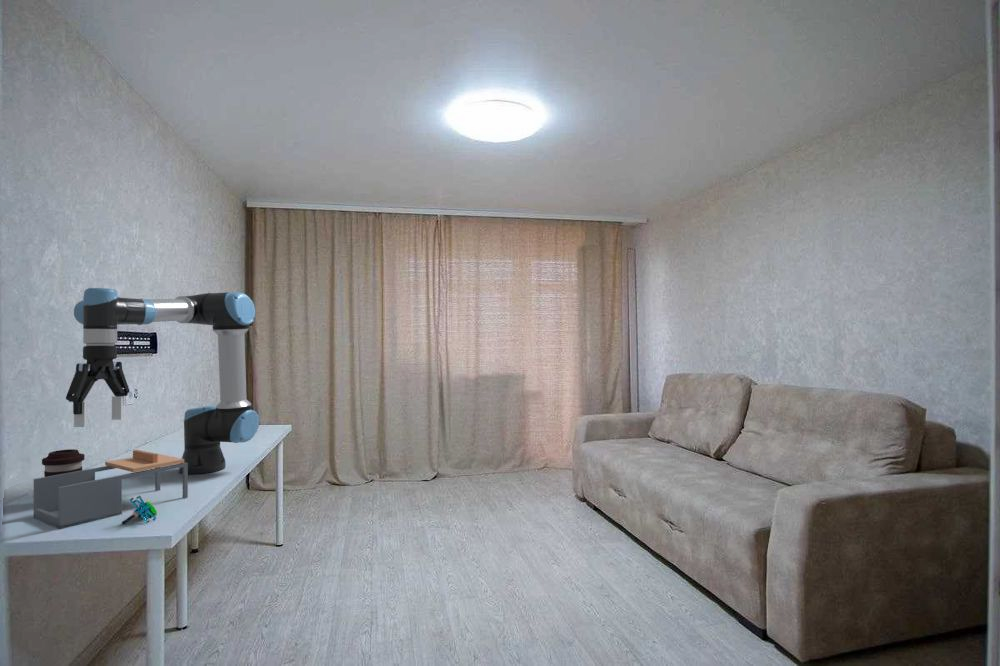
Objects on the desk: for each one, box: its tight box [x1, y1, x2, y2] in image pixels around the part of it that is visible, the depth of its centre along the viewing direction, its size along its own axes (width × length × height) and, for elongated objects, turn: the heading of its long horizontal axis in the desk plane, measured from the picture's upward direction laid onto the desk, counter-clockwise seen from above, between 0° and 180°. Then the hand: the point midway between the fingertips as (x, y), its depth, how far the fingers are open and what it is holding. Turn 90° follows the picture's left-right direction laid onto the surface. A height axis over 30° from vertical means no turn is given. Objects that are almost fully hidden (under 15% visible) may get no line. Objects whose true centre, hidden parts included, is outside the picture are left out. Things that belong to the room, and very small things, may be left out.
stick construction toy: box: [121, 495, 158, 525], centre depth 146 cm, size 12×7×8 cm
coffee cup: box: [41, 448, 86, 477], centre depth 163 cm, size 10×10×15 cm
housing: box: [33, 463, 189, 530], centre depth 158 cm, size 32×17×10 cm, turn 148°
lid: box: [104, 449, 184, 473], centre depth 165 cm, size 14×17×4 cm
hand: (99, 423), depth 150 cm, fingers open, 13 cm apart
